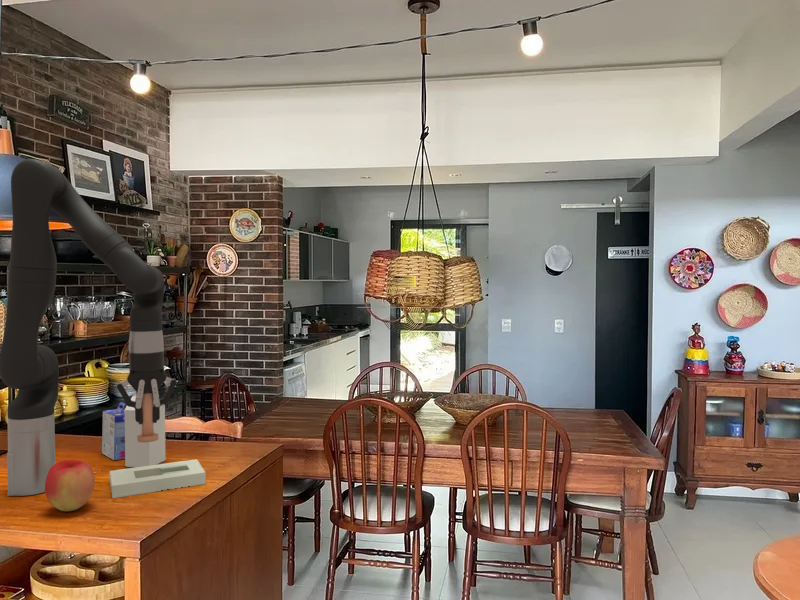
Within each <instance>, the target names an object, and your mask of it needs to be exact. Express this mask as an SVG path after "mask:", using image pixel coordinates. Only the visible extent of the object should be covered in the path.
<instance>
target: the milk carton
mask: <svg viewBox="0 0 800 600" xmlns="http://www.w3.org/2000/svg"><path fill="white" fill-rule="evenodd" d="M130 399H131V401H135V399H136V391H133V392H132V396H131V398H130ZM153 406H154V405H153ZM124 410H125V459H124V462H125V463H124V464H125V467H128V468H135V467H143V466H150V465H158V464H162V463H163V462H165V461H166V405H165V404H162V405H161V406H160V419H159V420H157V423H154V433H157V434H158V440H156V441H153V442H138V441H137V436H138V435H140V434H142V424H139V423H138V422H136V420H135V408H133V407H128V406H127V405H125V407H124Z"/></svg>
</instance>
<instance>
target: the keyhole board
mask: <svg viewBox="0 0 800 600" xmlns="http://www.w3.org/2000/svg"><path fill="white" fill-rule="evenodd" d="M206 473H207V472H206V471H205V469H204V468H203V466H202V465H201V463H200V462H199V460H198V459H196V458H195V459H190V460H182V461H175V462H174V461H173V462H168V463H167V462H166V463H165V462H164V463H159V464H157V465H150V466H143V467H128V468H123V469H121V468H120V469H115V470H109V485H110V491H111V498H112V499H117V498H123V497H129V496H130V497H131V496H136V495H143V494H150V493H155V492H156V491H157V492H161V490H163V491H168V490H167V489H170V490H176V489H175V488H177V489H181V487H183V488H189V487H188V486H190V487H195V486H202V485H206V484H207V483H206V479H207V478H206V475H207V474H206Z"/></svg>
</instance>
